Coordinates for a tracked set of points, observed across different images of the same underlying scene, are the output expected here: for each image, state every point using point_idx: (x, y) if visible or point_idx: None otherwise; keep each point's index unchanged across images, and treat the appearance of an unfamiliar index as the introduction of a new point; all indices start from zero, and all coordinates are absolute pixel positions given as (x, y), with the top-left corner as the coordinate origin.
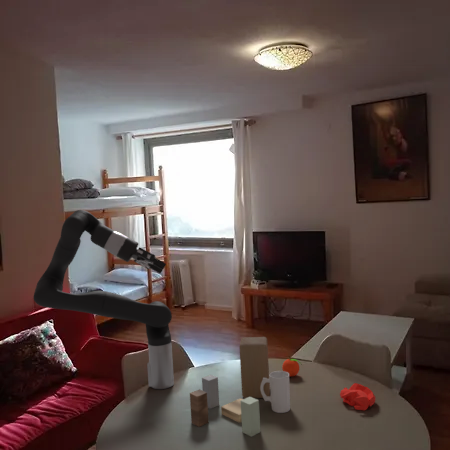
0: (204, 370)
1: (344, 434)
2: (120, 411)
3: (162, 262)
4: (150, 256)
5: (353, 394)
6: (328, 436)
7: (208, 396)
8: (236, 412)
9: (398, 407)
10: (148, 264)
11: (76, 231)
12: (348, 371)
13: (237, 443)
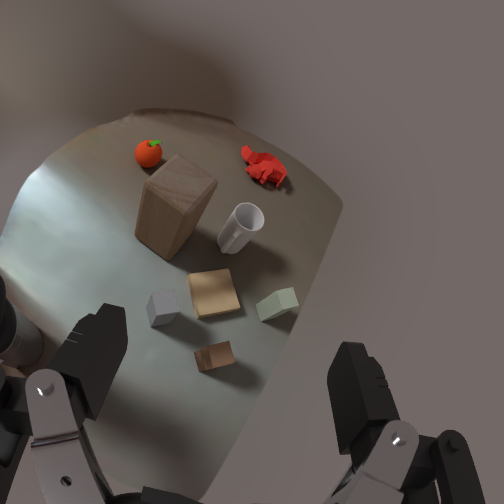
0: (19, 243)
1: (311, 234)
2: None
3: (367, 367)
4: (393, 485)
5: (272, 172)
6: (308, 248)
7: (169, 319)
8: (231, 306)
9: (287, 160)
10: (29, 424)
11: None
12: (186, 117)
13: (281, 340)
